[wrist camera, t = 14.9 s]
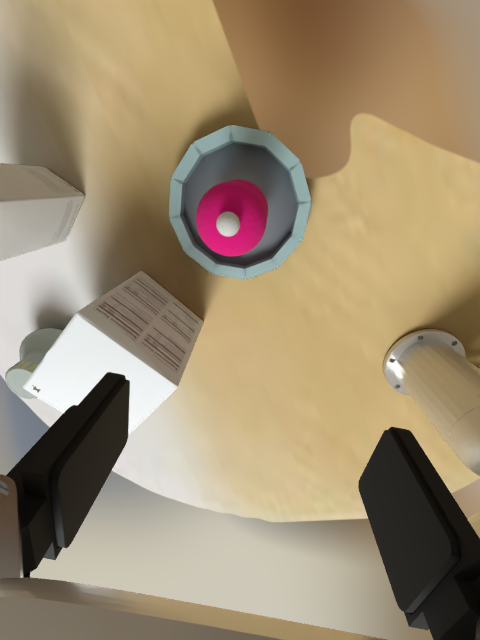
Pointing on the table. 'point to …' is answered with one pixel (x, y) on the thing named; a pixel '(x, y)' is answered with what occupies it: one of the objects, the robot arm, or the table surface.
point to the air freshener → (30, 359)
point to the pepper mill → (232, 217)
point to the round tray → (251, 165)
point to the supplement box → (120, 348)
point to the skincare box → (34, 209)
